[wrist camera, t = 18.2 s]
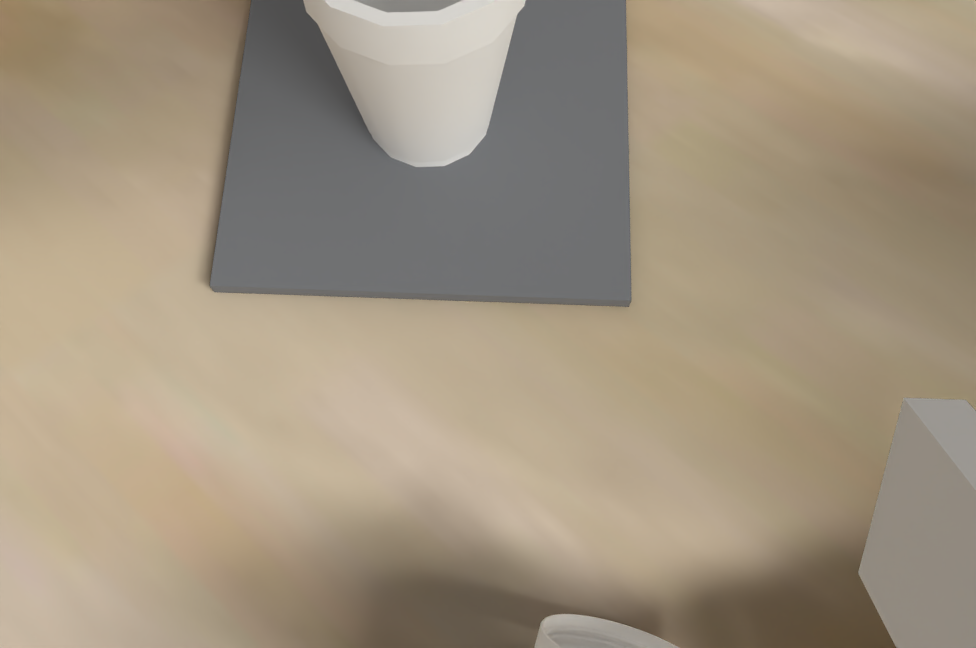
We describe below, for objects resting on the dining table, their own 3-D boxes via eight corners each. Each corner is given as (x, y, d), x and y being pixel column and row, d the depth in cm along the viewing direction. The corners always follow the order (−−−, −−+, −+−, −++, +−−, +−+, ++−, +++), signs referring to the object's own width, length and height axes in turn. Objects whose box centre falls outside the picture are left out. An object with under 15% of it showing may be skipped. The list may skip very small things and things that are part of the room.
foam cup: (361, 22, 49) (321, -189, 36) (533, 49, 48) (551, -155, 36) (317, 179, 46) (258, 6, 33) (501, 210, 45) (510, 46, 33)
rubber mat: (622, -32, 51) (624, -42, 50) (628, 306, 44) (631, 300, 43) (262, -44, 51) (259, -54, 50) (214, 291, 44) (209, 285, 44)
